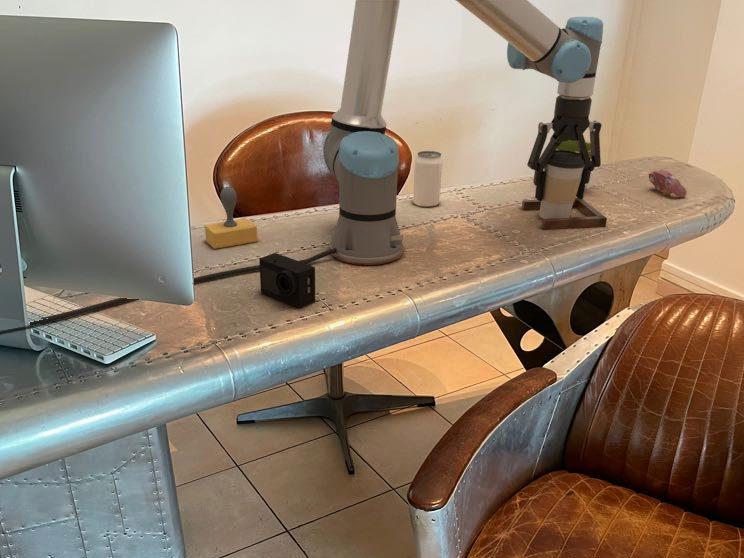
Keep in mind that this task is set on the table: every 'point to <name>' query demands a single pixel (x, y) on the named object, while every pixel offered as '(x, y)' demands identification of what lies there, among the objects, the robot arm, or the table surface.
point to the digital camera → (287, 280)
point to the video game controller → (667, 183)
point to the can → (427, 179)
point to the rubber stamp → (230, 225)
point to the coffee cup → (561, 184)
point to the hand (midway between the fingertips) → (558, 198)
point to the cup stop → (591, 220)
